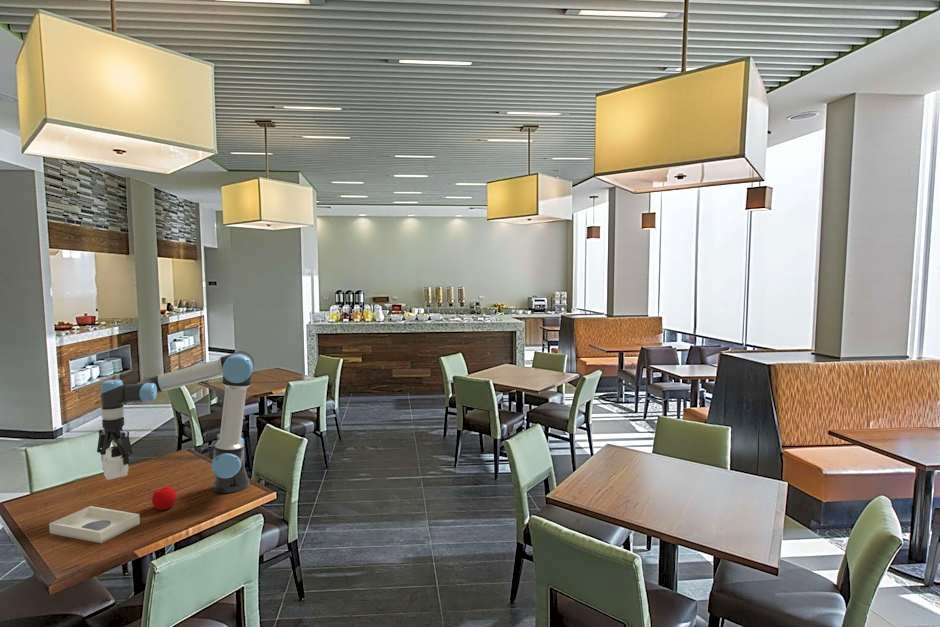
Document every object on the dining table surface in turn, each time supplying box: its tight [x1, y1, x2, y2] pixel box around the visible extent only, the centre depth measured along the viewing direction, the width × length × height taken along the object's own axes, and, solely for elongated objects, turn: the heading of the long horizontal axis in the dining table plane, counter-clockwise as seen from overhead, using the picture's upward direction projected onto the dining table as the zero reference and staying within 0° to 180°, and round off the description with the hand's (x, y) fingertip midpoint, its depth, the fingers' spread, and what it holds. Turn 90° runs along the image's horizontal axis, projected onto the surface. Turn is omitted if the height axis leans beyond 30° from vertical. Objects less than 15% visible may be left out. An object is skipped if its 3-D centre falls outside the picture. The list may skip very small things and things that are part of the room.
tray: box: [48, 505, 141, 544], centre depth 204 cm, size 26×16×4 cm, turn 73°
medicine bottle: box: [102, 445, 128, 481], centre depth 218 cm, size 7×7×12 cm
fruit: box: [151, 485, 177, 511], centre depth 223 cm, size 9×9×10 cm
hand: (115, 470), depth 218 cm, fingers closed on medicine bottle, 9 cm apart
